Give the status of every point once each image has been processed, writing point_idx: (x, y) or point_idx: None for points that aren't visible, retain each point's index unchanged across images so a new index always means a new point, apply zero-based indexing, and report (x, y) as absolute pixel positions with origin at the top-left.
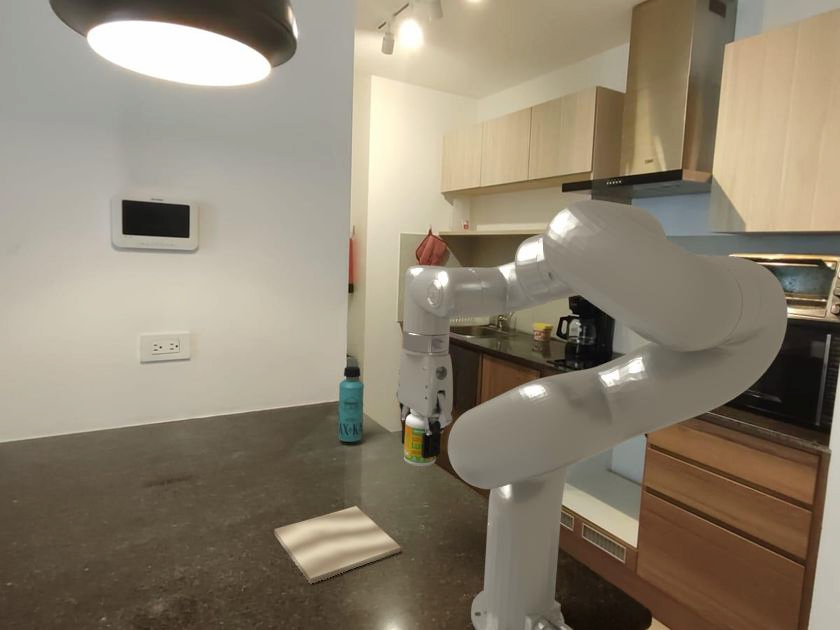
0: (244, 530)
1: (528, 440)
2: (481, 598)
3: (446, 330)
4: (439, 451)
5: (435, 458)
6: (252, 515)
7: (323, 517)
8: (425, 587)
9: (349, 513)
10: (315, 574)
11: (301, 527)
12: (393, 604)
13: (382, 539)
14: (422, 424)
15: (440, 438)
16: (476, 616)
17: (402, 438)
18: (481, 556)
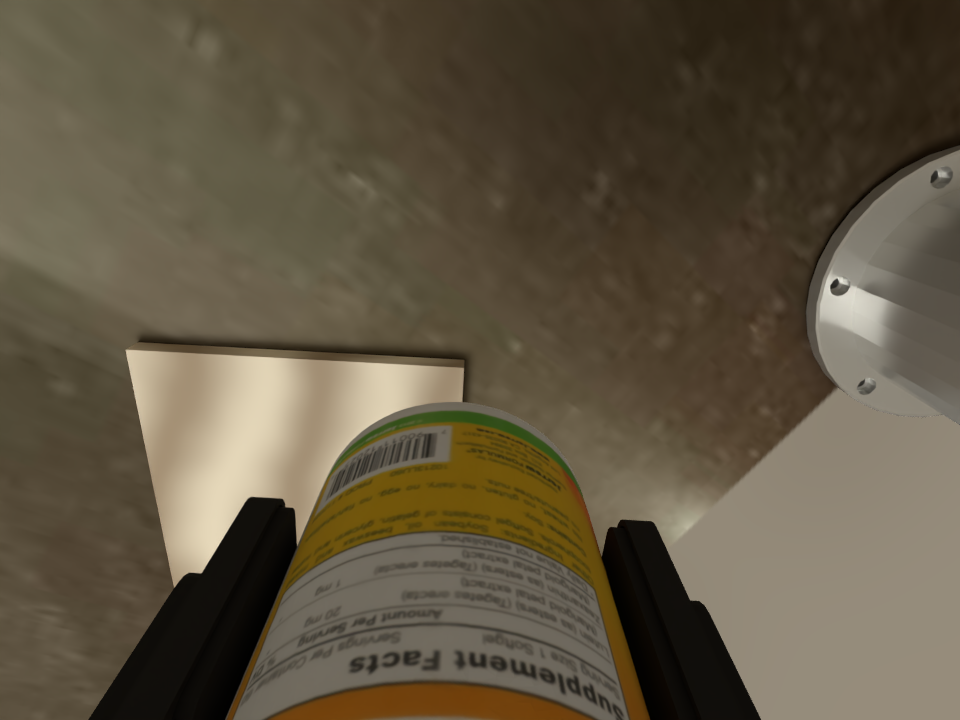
0: (131, 636)
1: None
2: (838, 333)
3: None
4: (662, 543)
5: (565, 464)
6: (50, 600)
7: (164, 476)
8: (649, 398)
9: (171, 395)
10: None
11: (199, 548)
12: (642, 497)
13: (389, 391)
14: None
15: (713, 655)
16: (869, 395)
17: None
18: (662, 128)
